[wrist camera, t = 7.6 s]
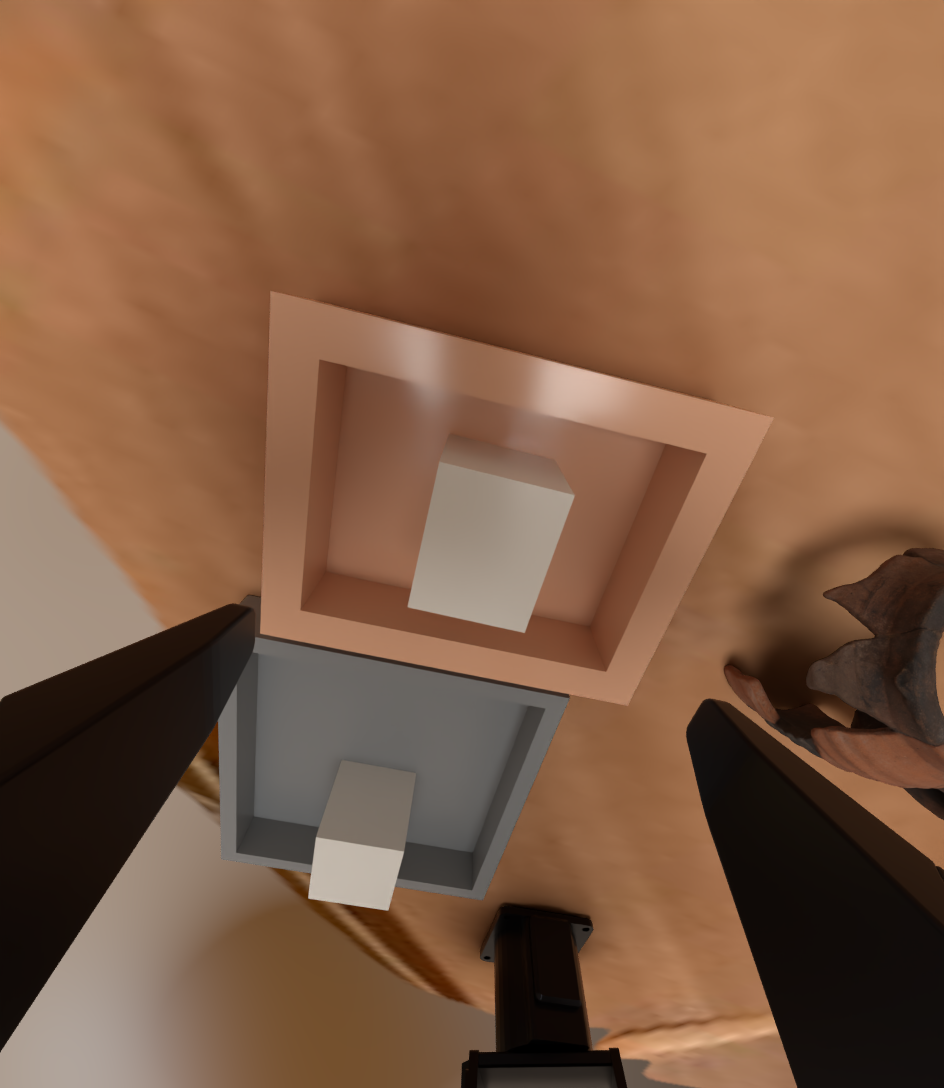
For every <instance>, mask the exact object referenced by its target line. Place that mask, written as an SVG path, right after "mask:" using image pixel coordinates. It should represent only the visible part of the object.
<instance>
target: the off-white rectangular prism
mask: <svg viewBox="0 0 944 1088" xmlns="http://www.w3.org/2000/svg"><path fill="white" fill-rule="evenodd" d="M415 778H416V773H413V772H407V771H402V770H396V769H390V768H385V767H379V766H373V765H368V764H362V763H357V762H351V761H345V760H342V761H341V764H340V767H339V770H338V773H337V776H336V779H335V782H334V785H333V788H332V791H331V794H330V797H329V800H328V803H327V806H326V809H325V812H324V815H323V818H322V821H321V824H320V827H319V829H318V832H317V835H316V841H315V848H314V856H313V864H312V872H311V880H310V888H309V896H308V898H309V899H316V900H322V901H329V902H335V903H342V904H348V905H355V906H361V907H368V908H374V909H381V910H388V909H389V906H390V902H391V898H392V895H393V891H394V887H395V883H396V880H397V876H398V872H399V869H400V865H401V861H402V858H403V854H404V849H405V843H406V836H407V830H408V823H409V817H410V810H411V804H412V797H413V791H414V784H415Z"/></svg>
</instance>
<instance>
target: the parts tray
mask: <svg viewBox="0 0 944 1088" xmlns="http://www.w3.org/2000/svg"><path fill="white" fill-rule="evenodd" d="M240 605H245V606H250V607H252V608H253V609H254V610H255V613H256V624H255V645H254V649H253V652H252V655H251V657H250V659H249V661H248V663H247V665H246V667H245V668H244V670H243V672H242V674H241V676H240V678H239V680H238V682H237V684H236V686H235V688H234V690H233V692H232V694H231V696H230V698H229V700H228V702H227V704H226V706H225V707H224V709H223V711H222V713H221V715H220V717H219V719H218V728H219V775H220V822H221V859H223V860H230V861H236V862H243V863H249V864H255V865H262V866H268V867H274V868H280V869H287V870H293V871H299V872H306V873H311V872H312V864H313V856H314V848H315V841H316V835H317V832H318V829H319V827H320V824H321V821H322V818H323V815H324V812H325V809H326V806H327V803H328V800H329V797H330V794H331V791H332V788H333V785H334V782H335V779H336V776H337V773H338V770H339V767H340V764H341V761H342V760H345V761H351V762H357V763H362V764H368V765H373V766H379V767H385V768H390V769H396V770H402V771H407V772H413V773H416V778H415V784H414V791H413V797H412V804H411V810H410V817H409V823H408V830H407V836H406V843H405V849H404V854H403V858H402V861H401V865H400V869H399V872H398V876H397V880H396V883H395V887H401V888H407V889H413V890H420V891H426V892H432V893H439V894H445V895H451V896H458V897H464V898H470V899H477V900H483V899H484V896H485V894H486V892H487V889H488V887H489V885H490V882H491V880H492V878H493V875H494V873H495V871H496V868H497V866H498V864H499V862H500V859H501V857H502V855H503V852H504V850H505V848H506V845H507V843H508V841H509V838H510V836H511V834H512V831H513V829H514V827H515V824H516V822H517V820H518V817H519V815H520V813H521V810H522V808H523V806H524V803H525V801H526V799H527V796H528V794H529V792H530V789H531V787H532V785H533V782H534V780H535V778H536V775H537V773H538V771H539V768H540V766H541V764H542V761H543V759H544V757H545V754H546V752H547V750H548V747H549V745H550V743H551V741H552V738H553V736H554V734H555V731H556V729H557V727H558V724H559V722H560V720H561V717H562V715H563V713H564V710H565V708H566V706H567V703H568V701H569V699H570V698H569V694H565V693H560V692H555V691H550V690H545V689H540V688H535V687H530V686H525V685H520V684H514V683H509V682H504V681H499V680H494V679H489V678H484V677H479V676H474V675H469V674H463V673H458V672H453V671H448V670H443V669H438V668H433V667H428V666H423V665H417V664H412V663H407V662H402V661H397V660H392V659H387V658H382V657H377V656H372V655H366V654H361V653H356V652H351V651H346V650H341V649H336V648H331V647H326V646H321V645H315V644H310V643H305V642H300V641H295V640H290V639H285V638H280V637H275V636H269V635H264V634H260V623H261V597H256V596H251V595H247V596H246V598H245V599H244V600H243V601H242V602H241V603H240Z"/></svg>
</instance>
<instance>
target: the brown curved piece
mask: <svg viewBox="0 0 944 1088" xmlns="http://www.w3.org/2000/svg"><path fill="white" fill-rule="evenodd" d="M823 596H824V597H825V598H827V599H830V600H833V601H835V602H837V603H838V604H839V605H841V606H842V607H844V608H845V609H846V610H848V612H849V613H850V614H851V615H853V616H854V617H855V618H856V619H858V620H859V621H860V622H861V623H862V624H863V625H864V626H866V627H867V628H868V629H869V630H870V631H871V632H872V633H873V634H874V635H875V638H871V639H862V640H854V641H851V642H848V643H846V644H845V645H843V646H842V647H840V648H839V649H837V650H836V651H835V652H834V653H832V654H831V655H829V656H828V657H826V658H823V659H820V660H817V661H816V662H814V663H812V665H811V666H810V667H809V670H808V674H807V677H806V684H807V686H808V687H809V688H810V689H814V690H818V691H821V692H824V693H827V694H832V695H836V696H838V697H839V698H840V699H841V700H842V701H844V702H845V703H846V704H848V705H850V706H851V707H853V708H856V709H857V710H856V711H855V715H854V718H853V721H852V723H851V728H846V727H845V726H844V725H842V724H841V723H839V722H838V721H836V720H834V719H832V718H830V717H829V716H827V715H826V714H825V713H823V712H822V711H821V710H820V709H819V708H818V707H817V706H815V705H813V704H807V705H804V706H801V707H799V708H793V709H788V710H781V709H775V708H774V707H773V706H772V704H771V702H770V701H769V699H768V697H767V695H766V693H765V691H764V689H763V687H762V685H761V683H760V681H759V680H758V679H757V678H754V677H751V676H746V675H743V673H742V672H741V671H739V670H738V669H737V668H735V667H734V666H731V665H727V666H725V668H724V672H725V675H726V677H727V680H728V682H729V684H730V686H731V687H732V689H733V690H734V692H735V693H736V694H737V695H738V696H739V698H740V699H741V700H742V701H743V702H744V703H746V705H747V706H748V707H750V708H751V709H753V710H754V711H756V712H757V713H758V714H759V715H760V716H761V717H762V718H763V719H765V721H766V722H767V724H769V725H770V726H771V727H773V728H774V729H776V730H778V731H779V732H780V733H781V734H783V735H785V736H787V737H788V738H789V739H790V740H791V741H793V742H794V743H795V744H797V745H799V746H802V747H804V748H805V749H807V750H808V751H809V752H811V753H812V754H814V755H816V756H818V757H820V758H822V759H824V760H826V761H827V762H829V763H830V764H832V765H834V766H836V767H838V768H840V769H843V770H845V771H847V772H854V773H855V774H857V775H860V776H862V777H865V778H868V779H873V780H876V781H880V782H883V783H886V784H889V785H893V786H898V787H902V788H904V789H905V790H906V791H907V792H908V793H909V794H910V795H911V796H912V797H913V798H914V799H915V800H917V801H918V802H919V803H920V804H921V805H923V806H924V807H925V808H927V809H928V810H929V811H931V812H932V813H933V814H935V815H936V816H937V817H939V818H941V819H943V820H944V716H943V714H942V711H941V709H940V706H939V701H938V696H937V689H936V671H935V668H936V656H937V649H938V647H939V640H940V639H941V637H942V632H943V631H944V550H939V549H934V548H928V549H927V548H912V549H909V550H907V551H906V552H905V553H904V554H903V555H895V556H893V557H892V558H890V559H888V560H887V561H885V562H884V563H883V564H881V565H880V567H879V568H878V569H877V570H875V571H874V572H873V573H872V574H871V575H869V576H868V577H867V578H865V579H863V580H861V581H858V582H856V583H853V584H848V585H842V586H839V587H836V588H833V589H831V590H828V591H826V592H824V593H823Z"/></svg>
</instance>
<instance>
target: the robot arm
mask: <svg viewBox="0 0 944 1088" xmlns="http://www.w3.org/2000/svg"><path fill="white" fill-rule="evenodd" d="M255 624H256V613H255V610H254V609H253V608H252V607H250V606H245V605H240V604H234V603H232V604H228V605H226V606H223V607H221V608H218V609H216V610H213V611H211V612H209V613H206V614H204V615H201V616H199V617H196V618H194V619H192V620H189V621H187V622H184V623H182V624H179V625H177V626H175V627H172V628H170V629H167V630H165V631H162V632H160V633H158V634H155V635H153V636H150V637H148V638H145V639H143V640H140V641H138V642H136V643H133V644H131V645H128V646H126V647H124V648H121V649H119V650H116V651H114V652H112V653H109V654H106V655H104V656H102V657H99V658H97V659H94V660H92V661H89V662H87V663H85V664H82V665H80V666H77V667H75V668H73V669H70V670H68V671H65V672H63V673H61V674H58V675H55V676H53V677H51V678H48V679H46V680H43V681H41V682H38V683H36V684H34V685H31V686H29V687H26V688H24V689H21V690H19V691H17V692H14V693H12V694H9V695H7V696H5V697H3V698H2V699H1V701H0V1052H1V1050H2V1049H3V1047H4V1046H5V1044H6V1043H7V1041H8V1040H9V1038H10V1037H11V1035H12V1034H13V1032H14V1031H15V1029H16V1027H17V1026H18V1025H19V1023H20V1021H21V1020H22V1018H23V1017H24V1015H25V1014H26V1012H27V1011H28V1009H29V1008H30V1006H31V1005H32V1003H33V1002H34V1000H35V999H36V997H37V996H38V994H39V993H40V991H41V990H42V988H43V987H44V985H45V984H46V982H47V981H48V979H49V977H50V976H51V974H52V973H53V971H54V970H55V968H56V967H57V965H58V963H59V962H60V961H61V959H62V958H63V956H64V955H65V953H66V951H67V950H68V949H69V947H70V945H71V944H72V943H73V941H74V940H75V938H76V937H77V935H78V933H79V932H80V930H81V929H82V927H83V926H84V924H85V923H86V921H87V920H88V918H89V917H90V915H91V914H92V912H93V911H94V909H95V908H96V906H97V905H98V903H99V902H100V900H101V899H102V897H103V896H104V894H105V893H106V891H107V889H108V888H109V886H110V885H111V883H112V882H113V880H114V879H115V877H116V876H117V874H118V873H119V871H120V870H121V868H122V867H123V865H124V864H125V862H126V861H127V859H128V858H129V856H130V855H131V853H132V852H133V850H134V849H135V847H136V845H137V844H138V842H139V841H140V839H141V838H142V836H143V835H144V833H145V832H146V830H147V829H148V827H149V826H150V824H151V823H152V821H153V820H154V818H155V817H156V815H157V813H158V812H159V811H160V809H161V807H162V806H163V805H164V803H165V801H166V800H167V798H168V797H169V795H170V794H171V792H172V791H173V789H174V788H175V786H176V785H177V783H178V782H179V780H180V779H181V777H182V776H183V774H184V773H185V771H186V770H187V768H188V767H189V765H190V764H191V762H192V761H193V759H194V757H195V756H196V754H197V753H198V751H199V750H200V748H201V747H202V745H203V744H204V742H205V741H206V739H207V738H208V736H209V734H210V733H211V731H212V730H213V728H214V726H215V724H216V723H217V721H218V719H219V717H220V715H221V713H222V711H223V709H224V707H225V706H226V704H227V702H228V700H229V698H230V696H231V694H232V692H233V690H234V688H235V686H236V684H237V682H238V680H239V678H240V676H241V674H242V672H243V670H244V668H245V667H246V665H247V663H248V661H249V659H250V657H251V655H252V652H253V649H254V645H255ZM686 738H687V743H688V747H689V751H690V755H691V759H692V764H693V768H694V772H695V776H696V780H697V784H698V789H699V793H700V797H701V801H702V805H703V809H704V812H705V816H706V819H707V822H708V826H709V829H710V832H711V835H712V838H713V840H714V843H715V846H716V849H717V852H718V855H719V858H720V861H721V864H722V867H723V870H724V873H725V876H726V879H727V882H728V885H729V888H730V891H731V893H732V896H733V899H734V902H735V905H736V908H737V911H738V914H739V917H740V920H741V923H742V926H743V929H744V932H745V935H746V938H747V941H748V944H749V946H750V949H751V952H752V955H753V958H754V961H755V964H756V967H757V970H758V973H759V976H760V979H761V982H762V985H763V988H764V991H765V994H766V997H767V999H768V1002H769V1005H770V1008H771V1011H772V1014H773V1017H774V1020H775V1023H776V1026H777V1029H778V1032H779V1035H780V1038H781V1041H782V1044H783V1047H784V1050H785V1052H786V1055H787V1058H788V1061H789V1064H790V1067H791V1070H792V1073H793V1076H794V1079H795V1082H796V1085H797V1088H944V870H943V869H942V868H941V867H939V866H935V864H934V863H933V861H931V860H930V859H929V858H928V857H926V856H925V855H924V854H922V853H921V852H920V851H919V850H917V849H916V848H915V847H913V846H912V845H911V844H910V843H908V842H907V841H906V840H904V839H903V838H902V837H901V836H899V835H898V834H897V833H895V832H894V831H893V830H892V829H890V828H889V827H888V826H886V825H885V824H884V823H883V822H881V821H880V820H879V819H877V818H876V817H875V816H874V815H872V814H871V813H870V812H869V811H867V810H866V809H865V808H863V807H862V806H861V805H860V804H858V803H857V802H856V801H854V800H853V799H852V798H851V797H849V796H848V795H847V794H845V793H844V792H843V791H842V790H840V789H839V788H838V787H836V786H835V785H834V784H833V783H831V782H830V781H829V780H827V779H826V778H825V777H824V776H822V775H821V774H820V773H818V772H817V771H816V770H815V769H813V768H812V767H811V766H809V765H808V764H807V763H806V762H804V761H803V760H802V759H800V758H799V757H798V756H797V755H795V754H794V753H793V752H791V751H790V750H789V749H788V748H786V747H785V746H784V745H782V744H781V743H780V742H779V741H777V740H776V739H775V738H773V737H772V736H771V735H770V734H768V733H767V732H766V731H764V730H763V729H762V728H761V727H759V726H758V725H757V724H755V723H754V722H753V721H752V720H750V719H749V718H748V717H746V716H745V715H744V714H743V713H741V712H740V711H739V710H737V709H736V708H735V707H734V706H732V705H731V704H730V703H728V702H725V701H720V700H715V699H706V700H704V701H703V702H702V703H701V705H700V706H699V708H698V710H697V711H696V713H695V715H694V716H693V718H692V720H691V721H690V723H689V725H688V727H687V731H686ZM592 931H593V924H592V921H591V920H590V919H586V918H580V917H574V916H567V915H561V914H555V913H548V912H542V911H536V910H529V909H523V908H517V907H510V906H503V907H501V908H500V909H499V911H498V913H497V915H496V917H495V919H494V922H493V924H492V926H491V928H490V930H489V932H488V935H487V937H486V939H485V941H484V943H483V945H482V947H481V950H480V959H481V960H483V961H487V962H494V969H495V1027H496V1052H479V1050H470V1052H469V1060H468V1061H466V1062H464V1063H462V1077H461V1078H462V1079H461V1088H627V1085H626V1080H625V1076H624V1071H623V1066H622V1062H621V1057H620V1053H619V1048H609V1050H593V1048H592V1042H591V1035H590V1028H589V1022H588V1015H587V1009H586V1002H585V996H584V989H583V983H582V976H581V969H580V963H579V956H578V953H579V951H580V950H581V948H582V947H583V945H584V944H585V942H586V941H587V939H588V938H589V936H590V935H591V933H592Z"/></svg>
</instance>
